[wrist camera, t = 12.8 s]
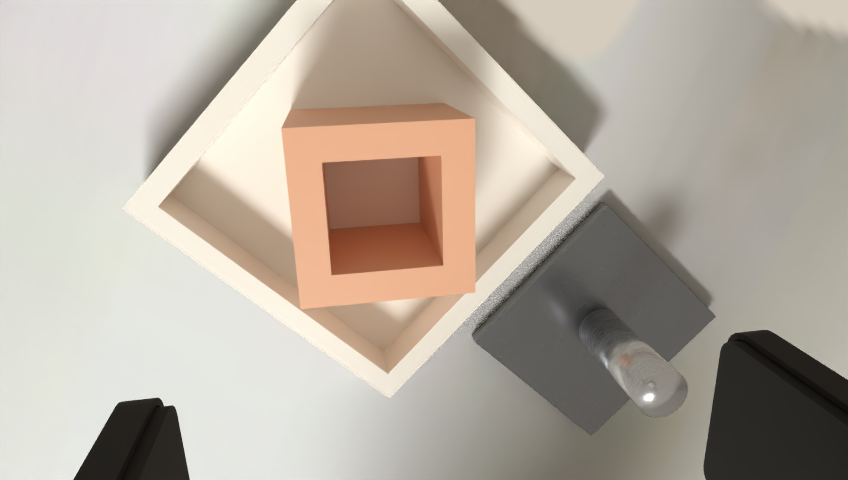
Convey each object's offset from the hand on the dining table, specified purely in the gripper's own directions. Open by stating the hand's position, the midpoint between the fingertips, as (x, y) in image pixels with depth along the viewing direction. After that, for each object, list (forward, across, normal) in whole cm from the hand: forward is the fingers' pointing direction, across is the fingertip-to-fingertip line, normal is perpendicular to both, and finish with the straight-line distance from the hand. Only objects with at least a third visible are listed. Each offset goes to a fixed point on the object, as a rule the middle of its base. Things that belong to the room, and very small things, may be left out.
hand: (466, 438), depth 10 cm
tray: (+20, 0, 0) cm, 20 cm away
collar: (+19, 0, 0) cm, 19 cm away
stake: (+20, -12, +9) cm, 25 cm away
